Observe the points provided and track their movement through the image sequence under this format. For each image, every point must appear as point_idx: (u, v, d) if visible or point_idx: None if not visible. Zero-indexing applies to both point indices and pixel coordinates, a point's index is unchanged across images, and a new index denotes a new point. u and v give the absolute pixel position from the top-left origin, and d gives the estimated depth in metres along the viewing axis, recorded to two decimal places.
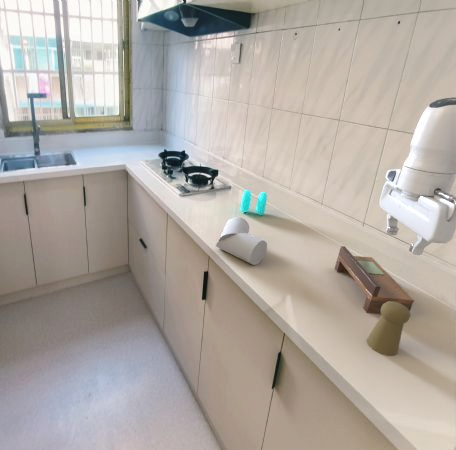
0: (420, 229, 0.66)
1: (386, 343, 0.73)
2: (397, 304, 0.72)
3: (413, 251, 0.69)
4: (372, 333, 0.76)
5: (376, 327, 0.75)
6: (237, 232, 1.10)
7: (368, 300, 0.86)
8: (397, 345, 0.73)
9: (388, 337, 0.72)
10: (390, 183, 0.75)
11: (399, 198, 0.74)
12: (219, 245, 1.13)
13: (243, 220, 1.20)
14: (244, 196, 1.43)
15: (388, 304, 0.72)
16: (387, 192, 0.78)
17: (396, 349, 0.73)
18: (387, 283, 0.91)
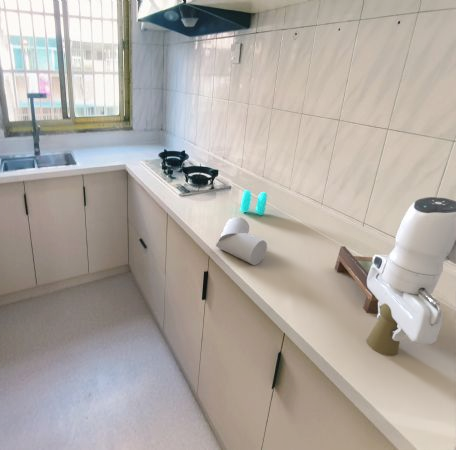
0: (405, 326, 0.66)
1: (386, 343, 0.73)
2: None
3: (394, 337, 0.71)
4: (372, 333, 0.76)
5: (375, 327, 0.75)
6: (237, 232, 1.10)
7: (368, 300, 0.86)
8: (397, 345, 0.73)
9: (388, 337, 0.72)
10: (376, 268, 0.76)
11: (385, 285, 0.74)
12: (219, 245, 1.13)
13: (243, 220, 1.20)
14: (244, 196, 1.43)
15: None
16: (374, 274, 0.78)
17: (396, 349, 0.73)
18: None
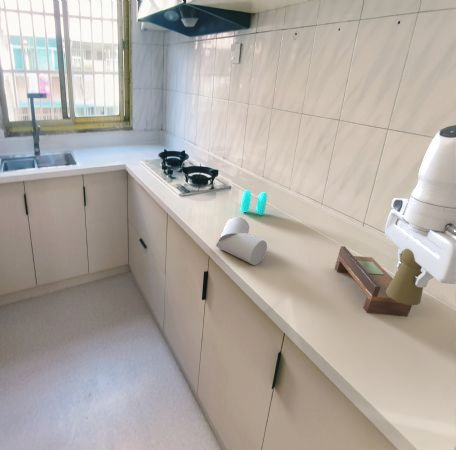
0: (430, 267, 0.61)
1: (408, 291, 0.67)
2: None
3: (417, 283, 0.65)
4: (392, 283, 0.70)
5: (396, 276, 0.69)
6: (237, 232, 1.10)
7: (368, 300, 0.86)
8: (420, 293, 0.68)
9: (410, 284, 0.67)
10: (396, 212, 0.70)
11: (406, 229, 0.68)
12: (219, 245, 1.13)
13: (243, 220, 1.20)
14: (244, 196, 1.43)
15: None
16: (393, 221, 0.72)
17: (419, 298, 0.68)
18: (387, 283, 0.91)
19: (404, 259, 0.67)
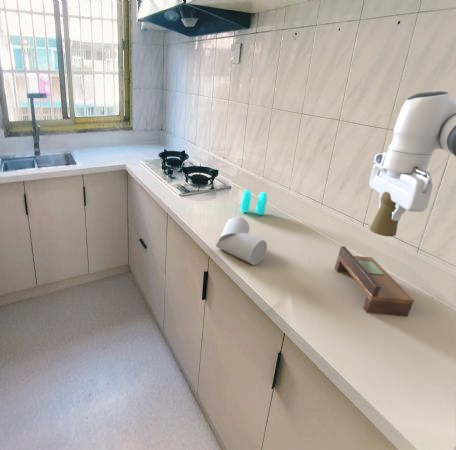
0: (401, 201, 0.80)
1: (386, 225, 0.86)
2: None
3: (392, 217, 0.84)
4: (374, 220, 0.89)
5: (377, 214, 0.88)
6: (237, 232, 1.10)
7: (368, 300, 0.86)
8: (395, 227, 0.86)
9: (388, 219, 0.86)
10: (378, 165, 0.89)
11: (385, 177, 0.87)
12: (219, 245, 1.13)
13: (243, 220, 1.20)
14: (244, 196, 1.43)
15: (387, 192, 0.86)
16: (375, 173, 0.91)
17: (394, 231, 0.87)
18: (387, 283, 0.91)
19: (383, 199, 0.86)
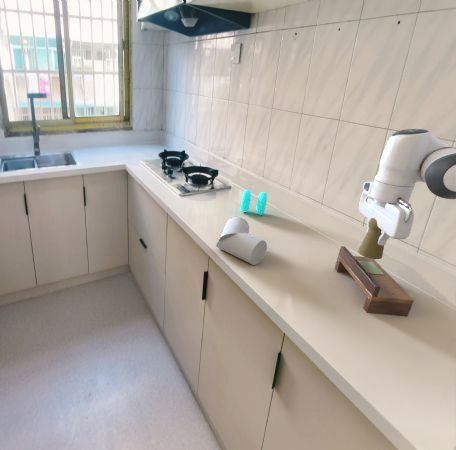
0: (386, 228, 0.86)
1: (373, 248, 0.93)
2: None
3: (378, 242, 0.91)
4: (362, 243, 0.96)
5: (365, 238, 0.95)
6: (237, 232, 1.10)
7: (368, 300, 0.86)
8: (381, 250, 0.93)
9: (374, 243, 0.92)
10: (366, 192, 0.96)
11: (372, 204, 0.94)
12: (219, 245, 1.13)
13: (243, 220, 1.20)
14: (244, 196, 1.43)
15: None
16: (364, 199, 0.98)
17: (380, 254, 0.93)
18: (387, 283, 0.91)
19: (370, 225, 0.93)
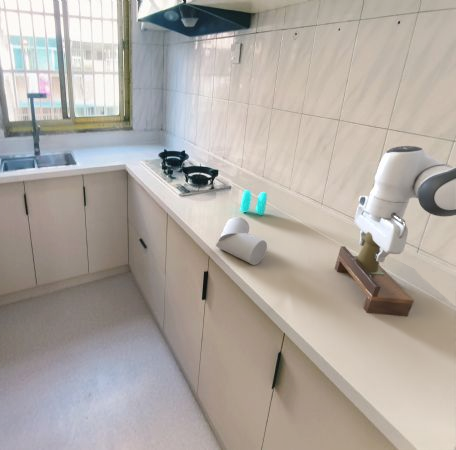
0: (381, 243, 0.88)
1: (368, 262, 0.95)
2: None
3: (377, 259, 0.91)
4: (358, 257, 0.97)
5: (361, 252, 0.97)
6: (237, 232, 1.10)
7: (368, 300, 0.86)
8: (377, 264, 0.95)
9: (370, 257, 0.94)
10: (361, 206, 0.97)
11: (368, 218, 0.96)
12: (219, 245, 1.13)
13: (243, 220, 1.20)
14: (244, 196, 1.43)
15: None
16: (360, 212, 1.00)
17: (376, 267, 0.95)
18: (387, 283, 0.91)
19: (366, 239, 0.94)
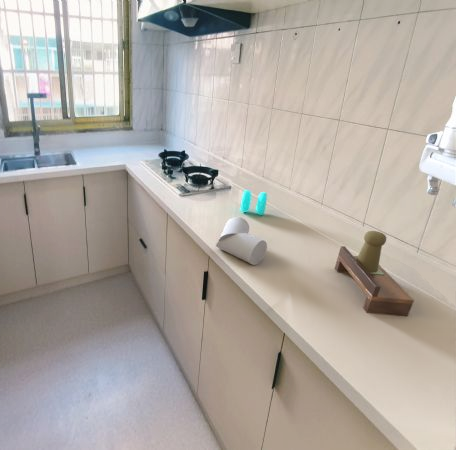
0: None
1: (368, 262, 0.95)
2: (376, 232, 0.94)
3: None
4: (358, 257, 0.98)
5: (360, 252, 0.97)
6: (237, 232, 1.10)
7: (368, 300, 0.86)
8: (377, 264, 0.95)
9: (370, 257, 0.94)
10: (431, 146, 0.82)
11: (440, 159, 0.80)
12: (219, 245, 1.13)
13: (243, 220, 1.20)
14: (244, 196, 1.43)
15: (369, 232, 0.94)
16: (427, 155, 0.84)
17: (376, 267, 0.95)
18: (387, 283, 0.91)
19: (365, 239, 0.94)
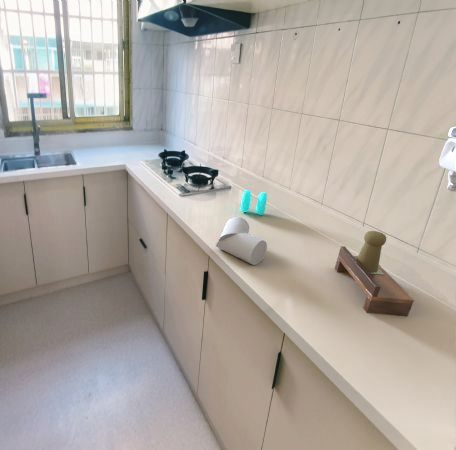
0: None
1: (368, 262, 0.95)
2: (376, 232, 0.94)
3: None
4: (358, 257, 0.98)
5: (360, 252, 0.97)
6: (237, 232, 1.10)
7: (368, 300, 0.86)
8: (377, 264, 0.95)
9: (370, 257, 0.94)
10: (454, 140, 0.78)
11: None
12: (219, 245, 1.13)
13: (243, 220, 1.20)
14: (244, 196, 1.43)
15: (369, 232, 0.94)
16: (449, 150, 0.80)
17: (376, 267, 0.95)
18: (387, 283, 0.91)
19: (365, 239, 0.94)
